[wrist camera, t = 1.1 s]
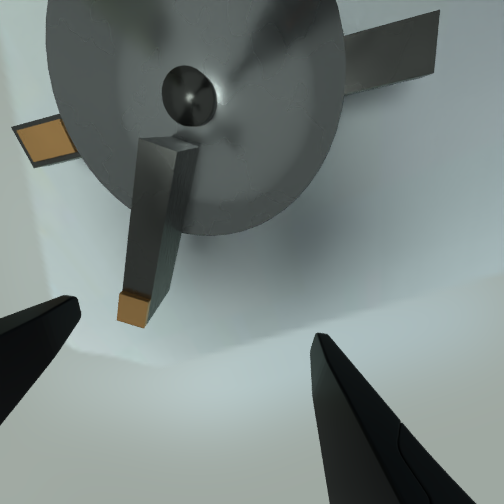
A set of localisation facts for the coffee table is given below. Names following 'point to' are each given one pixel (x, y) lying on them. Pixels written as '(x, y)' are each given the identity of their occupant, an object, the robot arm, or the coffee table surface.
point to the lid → (195, 115)
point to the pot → (356, 79)
